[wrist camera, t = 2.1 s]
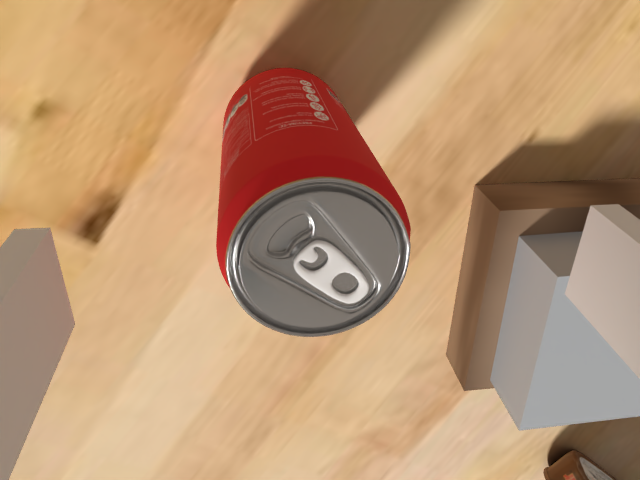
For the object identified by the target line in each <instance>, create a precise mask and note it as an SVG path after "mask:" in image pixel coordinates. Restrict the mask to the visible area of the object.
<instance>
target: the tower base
mask: <svg viewBox="0 0 640 480" xmlns="http://www.w3.org/2000/svg"><path fill="white" fill-rule="evenodd" d="M610 204H619V205H620V206H622V207H623V208H625V209H626V210H627V211H629V212H630V213H631V214H633V215H634V216H635V217H637V218H638V219H640V178H632V179H607V180H583V181H558V182H534V183H510V184H485V185H475V187H474V193H473V199H472V205H471V211H470V217H469V223H468V229H467V235H466V240H465V246H464V252H463V258H462V264H461V270H460V276H459V282H458V287H457V293H456V299H455V305H454V311H453V317H452V323H451V329H450V335H449V340H448V346H447V352H446V356H447V358H448V360H449V362H450V364H451V366H452V368H453V370H454V372H455V374H456V376H457V378H458V379H459V381H460V383H461V385H462V387H463V389H464V391H468V390H479V389H490V388H494V386H493V384H492V383H491V381H490V378H491V373H492V368H493V363H494V358H495V353H496V348H497V343H498V338H499V333H500V328H501V323H502V318H503V313H504V308H505V303H506V298H507V293H508V288H509V283H510V278H511V273H512V268H513V263H514V258H515V253H516V248H517V243H518V238H519V236H526V235H540V234H553V233H567V232H580V231H583V230H584V226H585V223H586V219H587V216H588V213H589V209H590V206H591V205H610Z"/></svg>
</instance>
